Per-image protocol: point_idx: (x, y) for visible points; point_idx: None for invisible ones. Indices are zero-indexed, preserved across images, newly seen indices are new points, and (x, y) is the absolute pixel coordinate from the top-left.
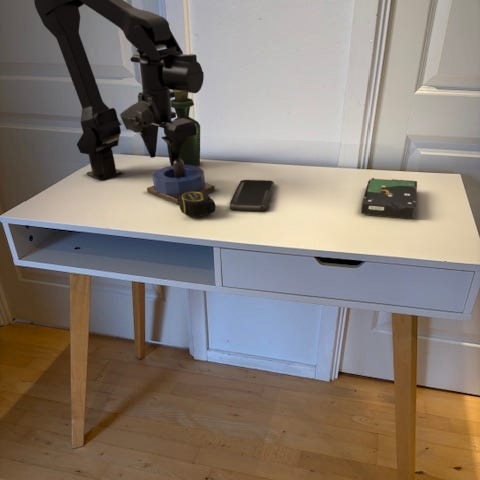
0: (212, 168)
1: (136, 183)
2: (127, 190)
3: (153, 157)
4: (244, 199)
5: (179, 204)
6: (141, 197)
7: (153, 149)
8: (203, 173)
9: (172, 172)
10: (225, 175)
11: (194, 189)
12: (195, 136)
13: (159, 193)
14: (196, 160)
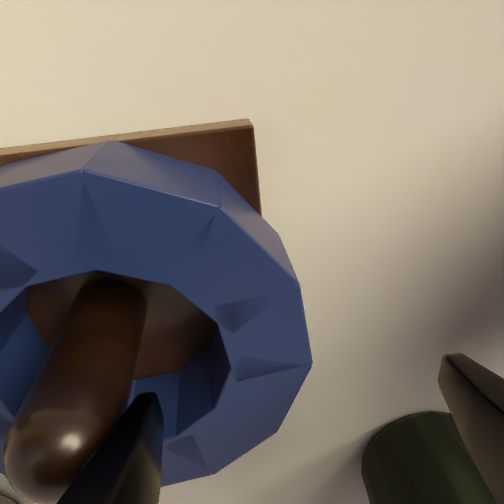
0: (299, 495)
1: (454, 154)
2: (406, 25)
3: (440, 368)
4: None
5: None
6: (198, 29)
7: (481, 439)
8: None
9: (226, 356)
10: (186, 499)
11: None
12: None
13: (87, 143)
14: (369, 497)
